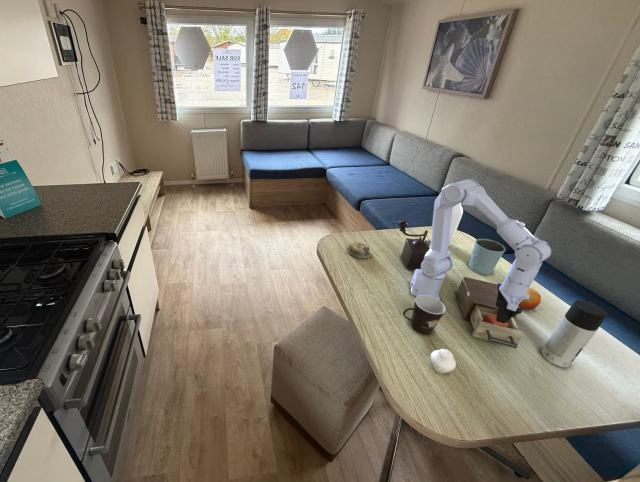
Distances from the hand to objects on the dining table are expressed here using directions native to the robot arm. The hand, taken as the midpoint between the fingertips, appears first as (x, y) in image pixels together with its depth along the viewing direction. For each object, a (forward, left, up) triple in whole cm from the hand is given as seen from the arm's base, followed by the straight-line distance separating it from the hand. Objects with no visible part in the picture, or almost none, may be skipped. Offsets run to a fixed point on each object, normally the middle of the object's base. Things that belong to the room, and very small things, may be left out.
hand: (499, 313), depth 95 cm
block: (0, 0, -7) cm, 7 cm away
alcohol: (-7, +57, -9) cm, 59 cm away
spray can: (+16, -4, -9) cm, 19 cm away
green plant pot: (+6, +40, -9) cm, 42 cm away
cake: (-43, +32, -9) cm, 55 cm away
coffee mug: (-22, -6, -9) cm, 24 cm away
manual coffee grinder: (-22, +33, -9) cm, 41 cm away
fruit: (+15, +20, -9) cm, 27 cm away
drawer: (0, 0, -8) cm, 8 cm away
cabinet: (0, +11, -9) cm, 14 cm away
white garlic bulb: (-17, -21, -9) cm, 28 cm away
